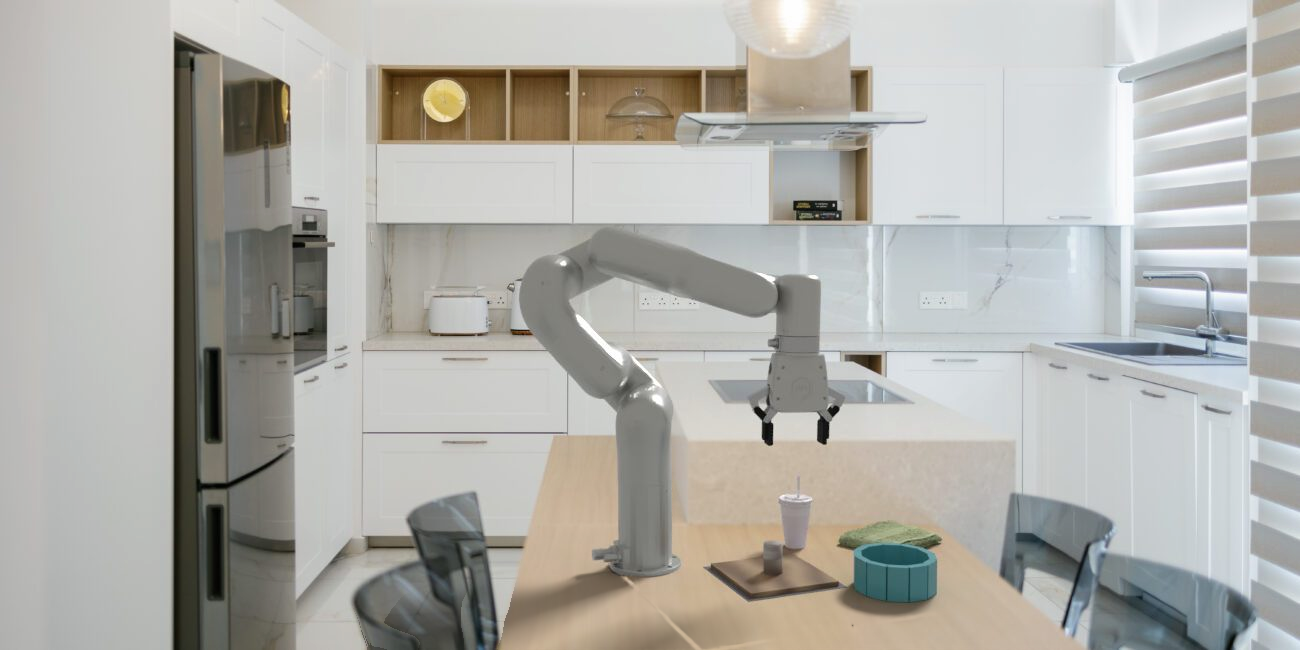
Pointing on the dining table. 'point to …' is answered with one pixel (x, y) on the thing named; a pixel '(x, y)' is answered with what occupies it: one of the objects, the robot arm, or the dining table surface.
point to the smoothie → (795, 517)
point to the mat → (767, 596)
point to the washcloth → (889, 535)
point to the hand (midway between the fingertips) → (795, 443)
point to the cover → (773, 573)
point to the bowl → (895, 572)
